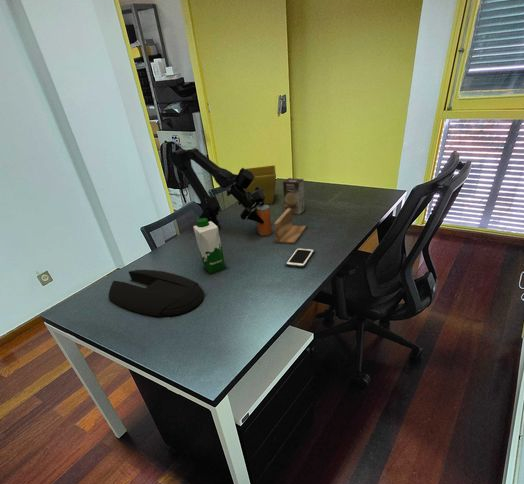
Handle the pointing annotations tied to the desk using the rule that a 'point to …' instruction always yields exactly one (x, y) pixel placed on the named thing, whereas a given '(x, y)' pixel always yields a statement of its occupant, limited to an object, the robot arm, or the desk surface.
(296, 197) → the coffee box
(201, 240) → the milk carton
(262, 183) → the cardboard box
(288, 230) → the wooden bookend
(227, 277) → the desk surface
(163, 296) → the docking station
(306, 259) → the cell phone
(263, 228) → the tin can
